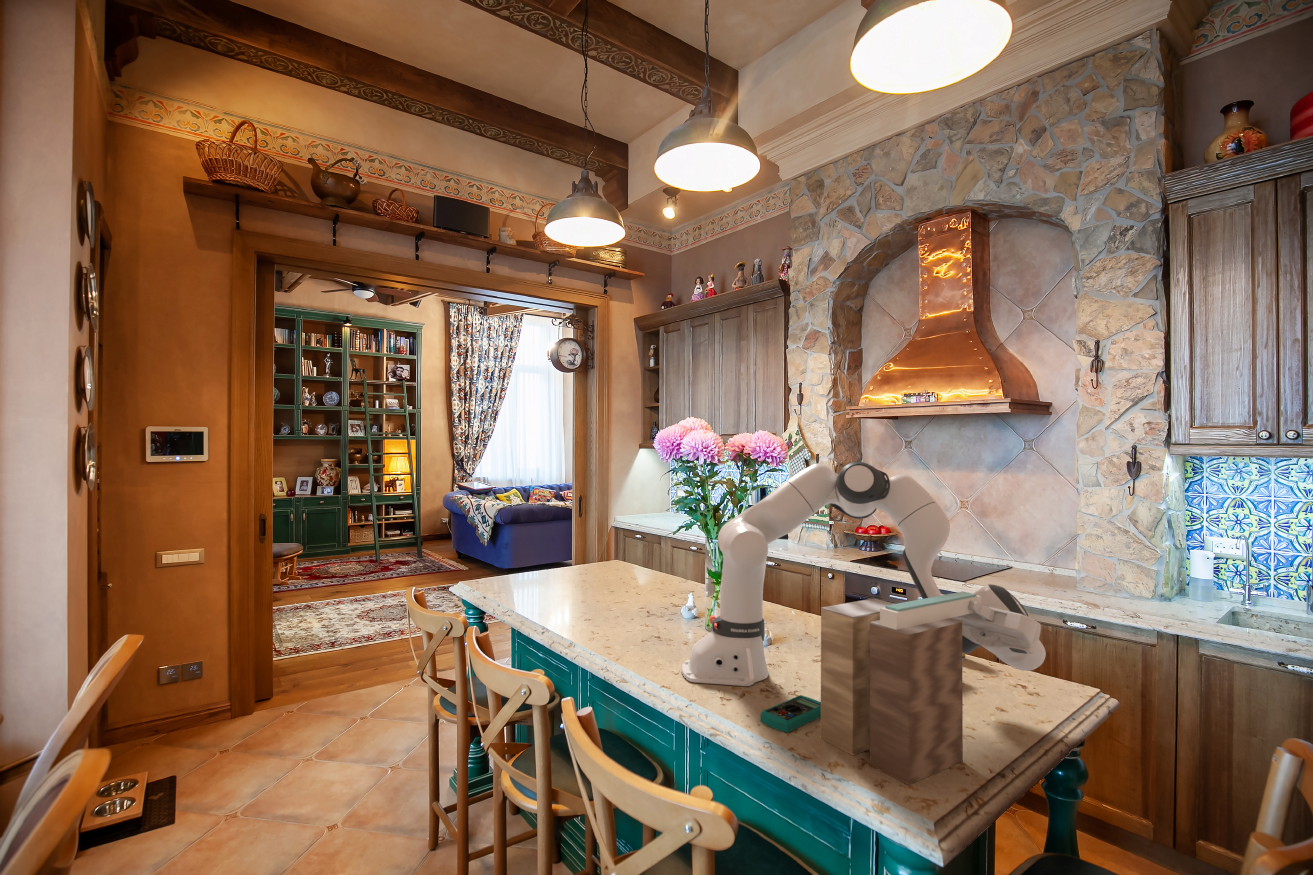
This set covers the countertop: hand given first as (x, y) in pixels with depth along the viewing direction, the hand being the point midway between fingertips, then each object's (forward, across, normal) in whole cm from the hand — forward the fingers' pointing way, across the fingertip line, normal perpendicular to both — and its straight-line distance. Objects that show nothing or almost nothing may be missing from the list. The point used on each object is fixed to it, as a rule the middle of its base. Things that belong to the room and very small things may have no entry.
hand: (960, 601), depth 120 cm
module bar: (+7, 0, +6) cm, 9 cm away
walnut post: (-2, 0, +31) cm, 31 cm away
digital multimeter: (+3, -26, +35) cm, 43 cm away
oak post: (-2, -12, +31) cm, 33 cm away
